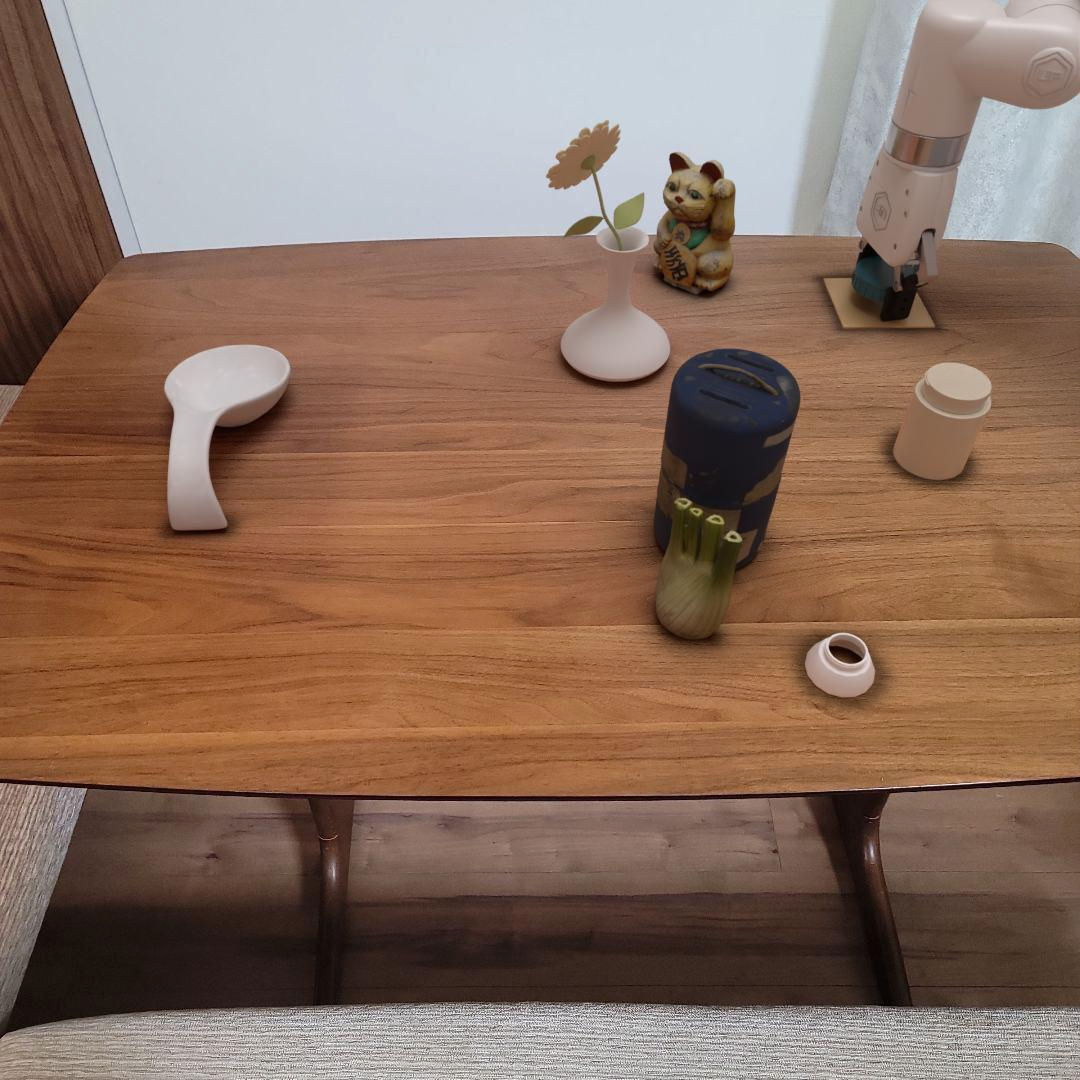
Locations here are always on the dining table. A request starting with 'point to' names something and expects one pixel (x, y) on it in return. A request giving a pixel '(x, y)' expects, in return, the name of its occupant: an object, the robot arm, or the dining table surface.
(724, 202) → the decorative figurine
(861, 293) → the lid
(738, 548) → the fennel bulb
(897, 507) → the dining table surface
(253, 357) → the spoon rest
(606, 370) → the flower in vase
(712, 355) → the canister
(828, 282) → the coaster
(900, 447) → the jar
